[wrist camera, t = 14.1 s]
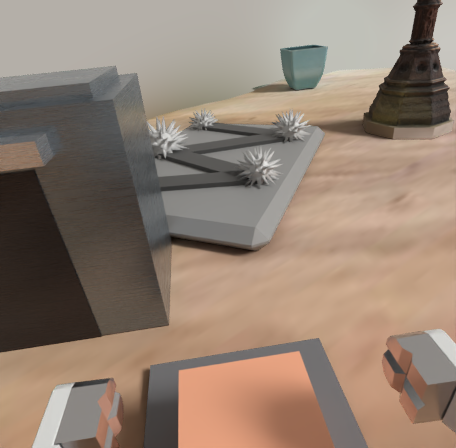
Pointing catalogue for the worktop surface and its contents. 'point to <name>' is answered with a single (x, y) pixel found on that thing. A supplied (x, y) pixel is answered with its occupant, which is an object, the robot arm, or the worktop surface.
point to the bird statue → (413, 87)
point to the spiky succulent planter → (231, 177)
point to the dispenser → (79, 210)
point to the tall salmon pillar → (250, 405)
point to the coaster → (309, 349)
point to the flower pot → (303, 65)
